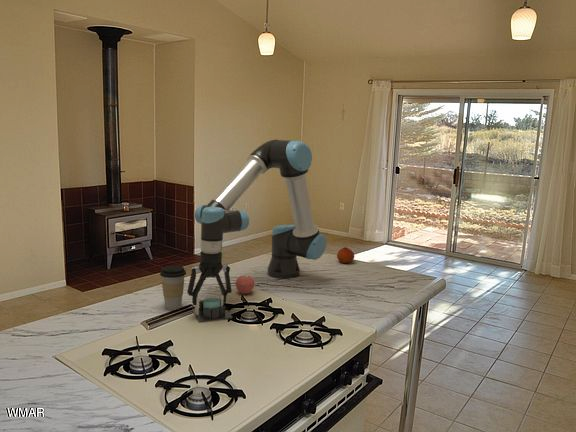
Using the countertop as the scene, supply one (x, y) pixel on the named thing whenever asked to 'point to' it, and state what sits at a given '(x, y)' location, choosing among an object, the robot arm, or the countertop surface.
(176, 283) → the coffee cup
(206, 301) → the cap
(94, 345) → the countertop surface
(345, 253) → the fruit
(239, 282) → the apple
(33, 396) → the countertop surface
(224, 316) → the dark grey raised block
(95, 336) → the countertop surface
